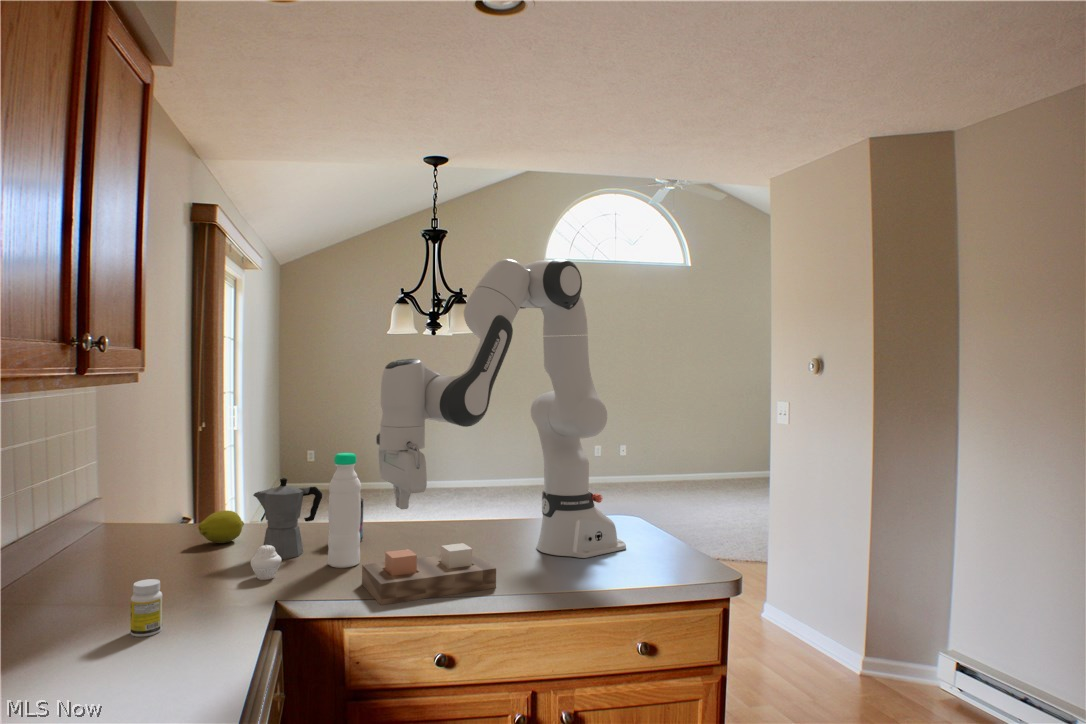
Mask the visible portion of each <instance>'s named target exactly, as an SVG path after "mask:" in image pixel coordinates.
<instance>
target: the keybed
mask: <svg viewBox="0 0 1086 724" xmlns="http://www.w3.org/2000/svg"><path fill="white" fill-rule="evenodd" d="M361 585H362V586H363V587H364V588H365V589H366V590H367V592H368V593H369V594H370V596H372V597H373V598H374V600H376V602H377V603H378V604H379V605H380V606H383V605H391V604H396V603H402V602H404V603H405V602H410V601H417V600H423V599H430V598H436V597H442V596H449V595H456V594H463V593H470V592H477V591H483V590H489V589H496V588H497V568H496V567H495V566H493V565H492V564H490V563H489V562H487V561H485V560H484V559H482V558H481V557H479V556H478V555H476V554H475V553H473V552H472V565H471V566H464V567H456V568H449V569H448V568H446V567H445V566H444V565H442V564H441V554H440V555H433V556H432V555H431V556H424V557H417V573H411V574H403V575H396V576H390V575H389V574H388V573H387V572H385V561H382V562H374V563H368V564H367V563H366V564H365V563H364V564H361Z"/></svg>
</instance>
